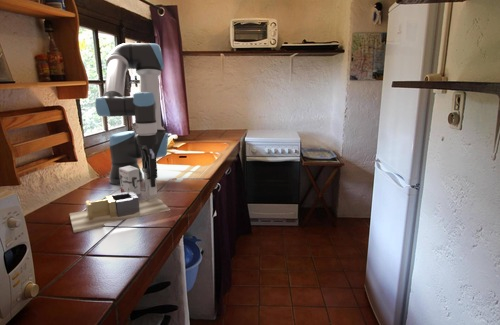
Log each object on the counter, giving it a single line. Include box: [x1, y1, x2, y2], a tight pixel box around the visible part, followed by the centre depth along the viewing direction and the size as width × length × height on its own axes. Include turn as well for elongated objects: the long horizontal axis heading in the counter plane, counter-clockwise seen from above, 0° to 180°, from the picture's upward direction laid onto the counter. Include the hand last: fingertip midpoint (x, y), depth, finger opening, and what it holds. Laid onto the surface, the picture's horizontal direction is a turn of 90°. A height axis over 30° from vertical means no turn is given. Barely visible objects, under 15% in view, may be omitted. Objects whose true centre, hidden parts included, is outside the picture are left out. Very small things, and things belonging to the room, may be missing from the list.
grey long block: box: [141, 167, 159, 202], centre depth 133 cm, size 5×5×13 cm
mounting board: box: [69, 197, 171, 233], centre depth 123 cm, size 16×32×1 cm, turn 121°
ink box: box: [119, 166, 141, 196], centre depth 142 cm, size 9×5×12 cm, turn 47°
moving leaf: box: [85, 194, 117, 220], centre depth 119 cm, size 8×9×5 cm
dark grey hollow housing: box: [111, 192, 140, 217], centre depth 123 cm, size 10×8×6 cm
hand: (151, 192), depth 134 cm, fingers open, 4 cm apart
